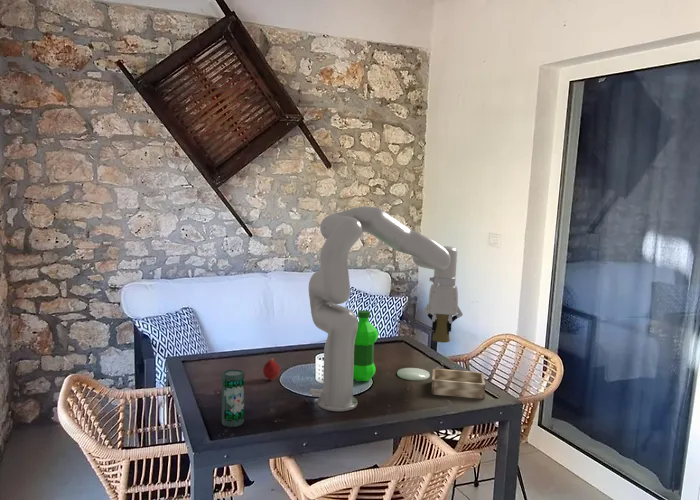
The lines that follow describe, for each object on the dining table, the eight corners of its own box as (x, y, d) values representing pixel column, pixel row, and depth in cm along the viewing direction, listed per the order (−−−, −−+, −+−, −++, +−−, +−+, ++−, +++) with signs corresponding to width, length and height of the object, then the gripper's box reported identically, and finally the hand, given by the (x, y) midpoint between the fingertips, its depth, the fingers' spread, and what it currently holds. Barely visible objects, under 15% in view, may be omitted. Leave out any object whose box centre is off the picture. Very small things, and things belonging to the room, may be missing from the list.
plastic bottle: (343, 382, 205) (346, 313, 202) (352, 373, 215) (354, 307, 212) (371, 386, 202) (373, 316, 199) (378, 376, 212) (381, 310, 209)
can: (227, 428, 165) (227, 377, 163) (218, 420, 170) (219, 371, 168) (247, 423, 168) (247, 373, 166) (238, 416, 173) (238, 367, 171)
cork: (449, 343, 201) (451, 312, 200) (431, 341, 203) (433, 310, 201) (450, 338, 207) (452, 308, 206) (433, 337, 209) (434, 307, 207)
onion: (268, 384, 201) (268, 361, 200) (259, 379, 205) (260, 357, 204) (282, 381, 205) (283, 359, 204) (274, 376, 209) (274, 355, 208)
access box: (431, 394, 196) (432, 379, 196) (432, 381, 209) (433, 368, 208) (484, 399, 194) (485, 384, 193) (482, 386, 206) (483, 372, 205)
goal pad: (395, 378, 211) (395, 376, 211) (398, 368, 222) (398, 366, 222) (429, 381, 209) (429, 379, 209) (430, 371, 220) (430, 369, 220)
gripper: (419, 281, 201) (416, 333, 203) (468, 285, 197) (465, 337, 199) (421, 278, 208) (418, 328, 210) (468, 281, 205) (465, 332, 207)
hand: (441, 332), depth 205 cm, fingers closed on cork, 3 cm apart
